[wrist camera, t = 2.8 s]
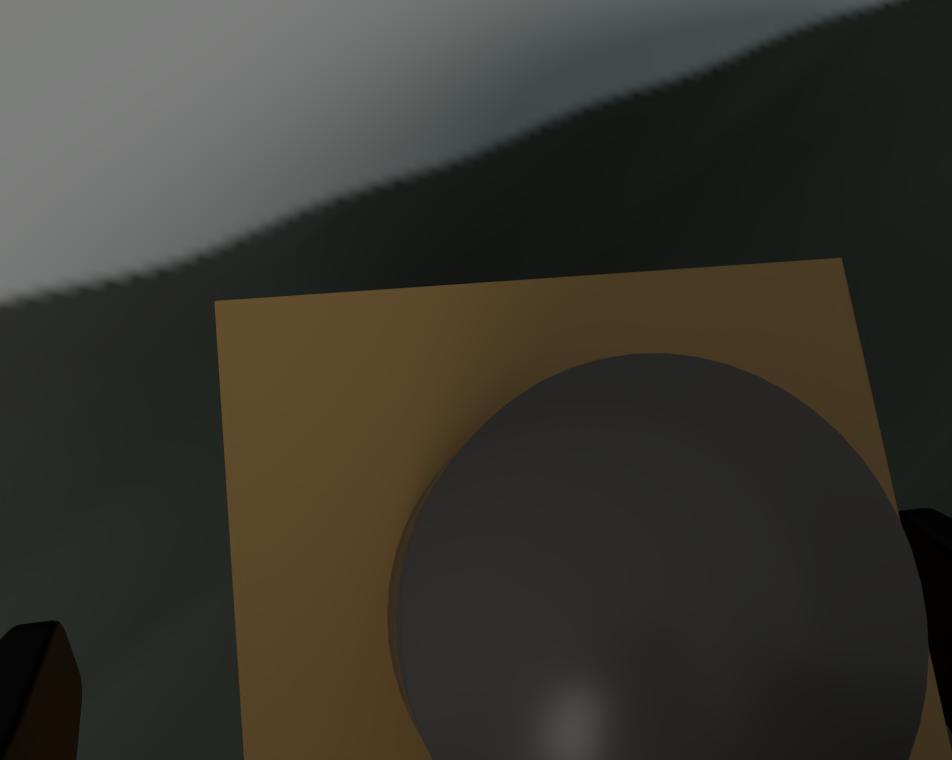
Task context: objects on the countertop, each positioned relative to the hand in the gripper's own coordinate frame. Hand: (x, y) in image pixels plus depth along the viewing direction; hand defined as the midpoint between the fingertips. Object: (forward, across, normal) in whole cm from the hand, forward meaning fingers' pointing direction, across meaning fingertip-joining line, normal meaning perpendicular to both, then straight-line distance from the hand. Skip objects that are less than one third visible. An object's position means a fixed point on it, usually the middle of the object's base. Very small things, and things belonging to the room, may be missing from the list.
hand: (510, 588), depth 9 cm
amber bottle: (+5, 0, +6) cm, 8 cm away
